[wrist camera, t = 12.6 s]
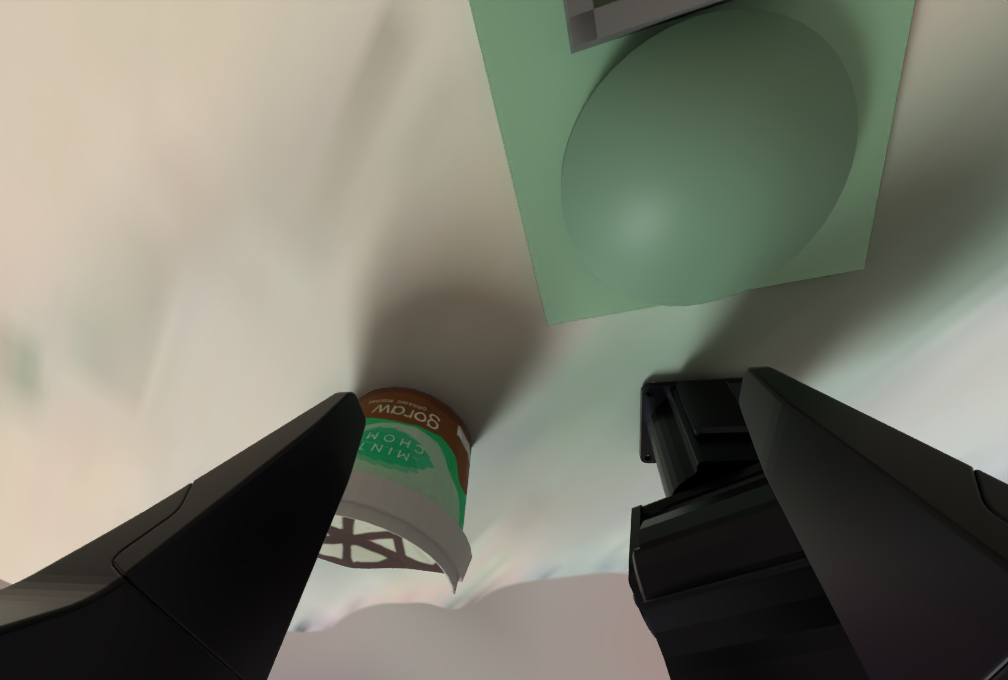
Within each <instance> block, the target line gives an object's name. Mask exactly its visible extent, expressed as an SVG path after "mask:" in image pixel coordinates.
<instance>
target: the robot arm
mask: <svg viewBox="0 0 1008 680" xmlns="http://www.w3.org/2000/svg"><path fill="white" fill-rule="evenodd" d="M648 391H653V392H651V393H647V392H648ZM365 426H366V418H365V414H364V412H363V410H362V408H361V405H360V403H359V401H358V399H357V396H356V395H355V394H354V393H353V392H339V393H335V394H334V395H332V396H330V397H329V398H327V399H326V400H324V401H322V402H321V403H319V404H318V405H316V406H314V407H313V408H311V409H309V410H308V411H306V412H305V413H303V414H301V415H300V416H298V417H297V418H295V419H293V420H292V421H290V422H288V423H287V424H285V425H284V426H282V427H280V428H279V429H277V430H276V431H274V432H272V433H271V434H269V435H267V436H266V437H264V438H263V439H261V440H259V441H258V442H256V443H255V444H253V445H251V446H250V447H248V448H246V449H245V450H243V451H242V452H240V453H238V454H237V455H235V456H234V457H232V458H230V459H229V460H227V461H225V462H224V463H222V464H221V465H219V466H217V467H216V468H214V469H213V470H211V471H209V472H208V473H206V474H204V475H203V476H201V477H200V478H198V479H196V480H195V481H194V482H193V484H192V483H190V484H188V485H187V486H185V487H183V488H182V489H180V490H179V491H177V492H175V493H174V494H172V495H170V496H169V497H167V498H165V499H164V500H162V501H160V502H159V503H157V504H155V505H154V506H152V507H151V508H149V509H147V510H146V511H144V512H142V513H140V514H139V515H137V516H135V517H133V518H132V519H130V520H128V521H127V522H125V523H123V524H121V525H120V526H118V527H116V528H114V529H113V530H111V531H109V532H107V533H106V534H104V535H102V536H100V537H98V538H97V539H95V540H93V541H91V542H90V543H88V544H86V545H84V546H83V547H81V548H79V549H77V550H75V551H74V552H72V553H70V554H68V555H67V556H65V557H63V558H61V559H59V560H58V561H56V562H54V563H52V564H51V565H49V566H47V567H45V568H44V569H42V570H40V571H38V572H36V573H35V574H33V575H31V576H29V577H27V578H25V579H23V580H21V581H19V582H17V583H15V584H13V585H11V586H8V587H6V588H4V589H1V590H0V680H267V678H268V676H269V673H270V671H271V669H272V666H273V664H274V661H275V659H276V657H277V654H278V652H279V649H280V647H281V644H282V642H283V640H284V637H285V635H286V632H287V630H288V628H289V625H290V623H291V620H292V618H293V615H294V613H295V611H296V608H297V606H298V603H299V601H300V599H301V596H302V594H303V591H304V589H305V586H306V584H307V582H308V579H309V577H310V574H311V572H312V569H313V567H314V565H315V562H316V560H317V557H318V555H319V553H320V550H321V548H322V545H323V543H324V540H325V538H326V536H327V533H328V531H329V528H330V526H331V524H332V521H333V519H334V516H335V514H336V511H337V509H338V507H339V504H340V502H341V499H342V497H343V494H344V492H345V490H346V487H347V484H348V482H349V479H350V476H351V473H352V470H353V467H354V463H355V460H356V456H357V453H358V450H359V446H360V443H361V440H362V436H363V433H364V429H365ZM647 455H649V456H647ZM640 458H641V461H642V462H644V463H657V467H658V471H659V474H660V478H661V481H662V485H663V489H664V492H665V496H666V498H663V499H661V500H658V501H655V502H653V503H650V504H648V505H645V506H642V505H640V506H637V507H634V508H632V514H631V532H630V550H629V584H630V587H631V589H632V591H633V598H634V601H635V604H636V605H637V607H638V608H639V610H640V612H641V615H642V616H643V619H644V621H645V622H646V625H647V626H648V628H649V630H650V631H651V633H652V634H653V635H654V637H655V638H656V639H657V642H658V644H659V647H660V649H661V652H662V655H663V657H664V660H665V663H666V666H667V669H668V673H669V676H670V679H671V680H1008V484H1006V483H1004V482H1002V481H1000V480H998V479H996V478H994V477H992V476H990V475H988V474H986V473H984V472H982V471H980V470H973V468H972V467H971V466H970V465H968V464H966V463H963V462H961V461H959V460H957V459H955V458H953V457H951V456H949V455H947V454H945V453H943V452H941V451H939V450H937V449H935V448H933V447H931V446H929V445H927V444H925V443H923V442H921V441H919V440H917V439H915V438H913V437H911V436H909V435H907V434H905V433H903V432H901V431H899V430H897V429H895V428H892V427H890V426H888V425H886V424H884V423H882V422H880V421H878V420H876V419H874V418H872V417H870V416H868V415H866V414H864V413H862V412H860V411H858V410H856V409H854V408H852V407H850V406H848V405H846V404H844V403H842V402H840V401H838V400H836V399H834V398H832V397H830V396H828V395H826V394H824V393H821V392H819V391H817V390H815V389H813V388H811V387H809V386H807V385H805V384H803V383H801V382H799V381H797V380H795V379H793V378H791V377H789V376H787V375H785V374H783V373H781V372H779V371H777V370H775V369H773V368H771V367H750V368H748V369H746V370H745V372H744V376H743V378H735V379H716V380H698V381H681V382H663V383H648V384H645V385H643V386H642V388H641V400H640Z"/></svg>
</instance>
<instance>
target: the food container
mask: <svg viewBox="0 0 1008 680" xmlns="http://www.w3.org/2000/svg"><path fill="white" fill-rule="evenodd" d="M358 401H359V403H360V405H361V408H362V410H363V412H364V414H365V418H366V426H365V429H364V433H363V436H362V440H361V443H360V446H359V450H358V453H357V456H356V460H355V463H354V467H353V470H352V473H351V476H350V479H349V482H348V484H347V487H346V490H345V492H344V494H343V497H342V499H341V502H340V504H339V507H338V509H337V511H336V514H335V516H334V519H333V521H332V524H331V526H330V528H329V531H328V533H327V536H326V538H325V540H324V543H323V545H322V548H321V550H320V553H319V555H318V557H317V558H320V559H323V560H326V561H329V562H332V563H335V564H339V565H342V566H346V567H350V568H366V569H372V568H408V569H416V570H423V571H431V572H439V573H445V574H446V576H447V578H448V580H449V582H450V584H451V587H452V592H453V594H455V591H456V587H457V583H458V581H459V582H462V581H463V578H464V576H465V573H466V571H467V568H468V566H469V563H470V561H471V558H472V554H471V548H470V545H469V542H468V540H467V537H466V536H465V534H464V532H463V524H464V515H465V505H466V495H467V486H468V476H469V467H470V457H471V440H470V435H469V433H468V431H467V429H466V427H465V425H464V423H463V421H462V420H461V419H460V417H459V416H458V415H457V414H456V413H455V412H454V411H453V410H452V409H451V408H450V407H449V406H448V405H446V404H444V403H443V402H441V401H439V400H438V399H436V398H434V397H433V396H431V395H429V394H426V393H423V392H420V391H417V390H414V389H408V388H397V387H391V388H382V389H378V390H375V391H372V392H370V393H368V394H366V395H364V396H363V397H361V398H360V399H359V400H358Z"/></svg>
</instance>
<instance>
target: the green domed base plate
mask: <svg viewBox="0 0 1008 680" xmlns="http://www.w3.org/2000/svg"><path fill="white" fill-rule="evenodd" d="M469 2H470V7H471V11H472V15H473V19H474V23H475V27H476V32H477V36H478V40H479V44H480V48H481V52H482V56H483V61H484V65H485V69H486V73H487V77H488V81H489V85H490V90H491V94H492V98H493V102H494V106H495V110H496V115H497V119H498V123H499V127H500V131H501V135H502V139H503V144H504V148H505V152H506V156H507V160H508V164H509V168H510V173H511V177H512V181H513V185H514V189H515V193H516V197H517V202H518V206H519V210H520V214H521V218H522V222H523V227H524V231H525V235H526V239H527V243H528V247H529V251H530V256H531V260H532V264H533V268H534V272H535V276H536V280H537V285H538V289H539V293H540V297H541V301H542V305H543V310H544V314H545V318H546V322H547V325H553V324H559V323H564V322H570V321H576V320H581V319H587V318H592V317H598V316H604V315H609V314H615V313H621V312H626V311H632V310H637V309H643V308H649V307H654V306H660V305H664V306H689V305H697V304H703V303H708V302H712V301H716V300H720V299H723V298H726V297H729V296H732V295H735V294H737V293H739V292H741V291H744V290H750V289H755V288H761V287H767V286H772V285H778V284H784V283H789V282H795V281H800V280H806V279H812V278H817V277H823V276H829V275H834V274H840V273H845V272H851V271H857V270H862V269H864V268H865V262H866V257H867V252H868V247H869V241H870V236H871V231H872V225H873V220H874V215H875V210H876V204H877V199H878V194H879V188H880V183H881V178H882V173H883V167H884V162H885V157H886V151H887V146H888V141H889V136H890V130H891V125H892V120H893V114H894V109H895V104H896V98H897V93H898V88H899V83H900V77H901V72H902V67H903V61H904V56H905V51H906V46H907V40H908V35H909V30H910V24H911V19H912V14H913V9H914V3H915V0H469Z"/></svg>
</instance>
